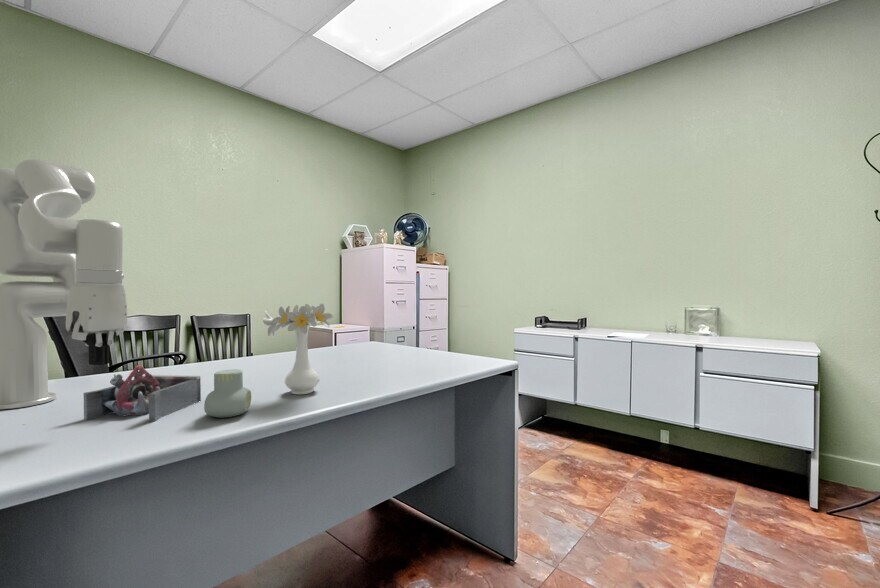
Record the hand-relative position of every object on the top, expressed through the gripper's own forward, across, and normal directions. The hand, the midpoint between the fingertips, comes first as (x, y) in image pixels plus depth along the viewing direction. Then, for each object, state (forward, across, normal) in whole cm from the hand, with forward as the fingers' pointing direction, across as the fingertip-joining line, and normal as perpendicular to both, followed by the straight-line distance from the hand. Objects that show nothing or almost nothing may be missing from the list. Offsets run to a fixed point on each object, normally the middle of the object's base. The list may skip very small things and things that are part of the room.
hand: (99, 363), depth 86 cm
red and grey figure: (+14, -10, 0) cm, 17 cm away
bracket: (+13, -11, +2) cm, 17 cm away
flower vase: (+13, -29, +32) cm, 45 cm away
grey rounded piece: (+13, -9, +24) cm, 28 cm away
